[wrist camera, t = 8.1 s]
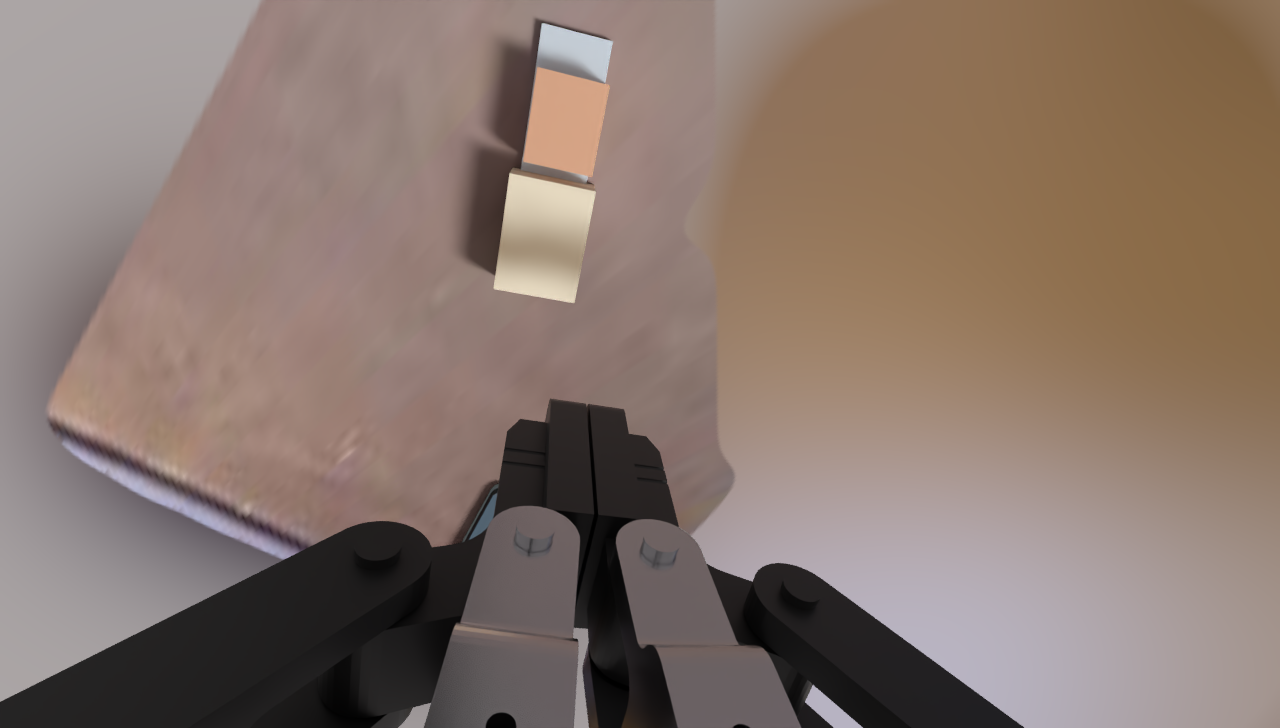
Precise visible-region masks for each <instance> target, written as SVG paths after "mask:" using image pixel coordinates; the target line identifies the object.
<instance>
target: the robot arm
mask: <svg viewBox="0 0 1280 728" xmlns="http://www.w3.org/2000/svg"><path fill="white" fill-rule="evenodd" d="M663 469H664V467H663V463H662V459H661V455H660V452H659V451H658V449H657V448H656V447H655V446H654V445H653V444H652V443H651V441H650V440H649V439H648V438H647V437H646V436H640V435H633V434H629V432H628V427H627V422H626V416H625V411H624V409H619V408H612V407H605V406H598V405H592V404H588V406H587V407H586V404H584V403H577V402H570V401H563V400H557V399H550V400H549V404H548V409H547V414H546V419H545V422H538V421H531V420H524V419H520V420H519V421H518V422H517V423H516V424H515V425H513V426H512V427H511V428H510V429H509V430H508V431H507V436H506V442H505V449H504V455H503V461H502V467H501V473H500V479H499V485H498V492H497V498H496V504H495V510H494V517H493V519H492V521H491V522H490V524H489V526H488V527H487V528H486V529H485V530H484V531H483V532H482V533H481V534H479V535H477V536H476V537H474V538H472V539H470V540H467V541H464V542H461V543H458V544H453V545H447V546H440V547H431V545H430V543H429V541H428V539H427V538H426V537H425V536H424V535H423V534H422V533H421V532H419V531H418V530H416V529H414V528H413V527H410V526H408V525H405V524H401V523H397V522H389V521H376V522H367V523H362V524H358V525H355V526H352V527H350V528H347V529H345V530H343V531H341V532H339V533H337V534H335V535H333V536H331V537H329V538H327V539H325V540H323V541H321V542H319V543H317V544H315V545H313V546H311V547H309V548H307V549H305V550H303V551H301V552H299V553H297V554H295V555H293V556H291V557H289V558H287V559H285V560H283V561H281V562H279V563H277V564H275V565H273V566H271V567H269V568H267V569H265V570H263V571H261V572H259V573H257V574H255V575H253V576H251V577H249V578H247V579H245V580H243V581H241V582H239V583H237V584H235V585H233V586H231V587H229V588H227V589H225V590H223V591H221V592H219V593H217V594H215V595H213V596H211V597H209V598H207V599H205V600H203V601H201V602H199V603H197V604H195V605H193V606H191V607H189V608H187V609H185V610H183V611H181V612H179V613H177V614H175V615H173V616H171V617H169V618H167V619H165V620H163V621H161V622H159V623H157V624H155V625H153V626H151V627H149V628H147V629H145V630H143V631H141V632H139V633H137V634H135V635H133V636H131V637H129V638H127V639H125V640H123V641H121V642H119V643H117V644H115V645H113V646H111V647H109V648H107V649H105V650H103V651H101V652H99V653H97V654H95V655H93V656H91V657H89V658H87V659H86V660H83V661H81V662H79V663H77V664H75V665H74V666H71V667H69V668H67V669H65V670H63V671H61V672H59V673H57V674H55V675H53V676H51V677H49V678H47V679H45V680H43V681H41V682H39V683H37V684H35V685H34V686H31V687H29V688H27V689H26V690H23V691H21V692H19V693H17V694H15V695H13V696H11V697H9V698H7V699H5V700H3V701H1V702H0V728H398V727H399V726H400V725H401V724H402V723H403V722H404V721H405V720H406V718H407V717H408V716H409V714H410V712H411V710H412V708H413V707H416V706H420V705H423V704H428V703H431V705H430V709H429V712H428V716H427V719H426V722H425V726H424V728H574V715H575V699H576V683H577V667H578V639H574V638H573V629H574V628H586V629H588V638H589V643H588V647H587V651H586V655H585V659H584V663H583V681H584V689H585V698H586V706H587V715H588V723H589V728H833V727H832V726H831V725H830V724H829V723H828V722H827V721H825V720H824V719H823V718H822V717H821V716H820V715H819V714H817V713H816V712H815V711H814V710H813V709H812V708H811V707H810V706H808V705H807V704H806V703H805V700H806V698H807V696H808V694H809V692H810V689H811V687H812V685H814V686H815V687H816V688H818V689H819V690H820V691H821V692H822V693H823V694H825V695H826V696H827V697H828V698H829V699H831V700H832V701H833V702H834V703H835V704H836V705H837V706H839V707H840V708H841V709H842V710H843V711H844V712H846V713H847V714H848V715H849V716H850V717H851V718H853V719H854V720H855V721H856V722H857V723H858V724H860V725H861V726H862V727H863V728H1024V727H1023V726H1021V725H1020V724H1018V723H1017V722H1016V721H1014V720H1013V719H1012V718H1010V717H1009V716H1008V715H1006V714H1005V713H1003V712H1002V711H1001V710H999V709H998V708H997V707H995V706H994V705H993V704H991V703H990V702H989V701H987V700H986V699H984V698H983V697H982V696H980V695H979V694H978V693H976V692H975V691H974V690H972V689H971V688H969V687H968V686H967V685H965V684H964V683H963V682H961V681H960V680H959V679H957V678H956V677H955V676H953V675H952V674H950V673H949V672H948V671H946V670H945V669H944V668H942V667H941V666H940V665H938V664H937V663H935V662H934V661H932V660H931V659H930V658H929V657H927V656H926V655H924V654H923V653H922V652H920V651H919V650H918V649H916V648H915V647H914V646H912V645H911V644H910V643H908V642H907V641H905V640H904V639H903V638H901V637H900V636H899V635H897V634H896V633H894V632H893V631H892V630H890V629H889V628H888V627H886V626H885V625H884V624H882V623H881V622H880V621H878V620H877V619H875V618H874V617H873V616H871V615H870V614H869V613H867V612H866V611H865V610H863V609H861V608H860V607H859V606H858V605H856V604H855V603H854V602H852V601H851V600H849V599H848V598H847V597H845V596H844V595H843V594H841V593H840V592H839V591H837V590H836V589H835V588H833V587H832V586H830V585H829V584H828V583H826V582H825V581H824V580H822V579H821V578H819V577H818V576H816V575H815V574H813V573H811V572H809V571H808V570H805V569H802V568H800V567H797V566H794V565H790V564H783V563H775V564H769V565H766V566H764V567H762V568H761V569H760V570H758V572H757V573H756V575H755V578H754V580H753V582H752V581H749V580H746V579H743V578H740V577H737V576H734V575H731V574H728V573H725V572H723V571H720V570H718V569H716V568H714V567H712V566H710V565H708V564H706V561H705V559H704V557H703V554H702V551H701V549H700V547H699V545H698V544H697V542H696V541H695V540H694V539H693V538H692V537H691V536H690V535H689V534H688V533H687V532H685V531H684V530H682V529H681V528H679V525H678V522H677V518H676V514H675V510H674V506H673V502H672V498H671V494H670V490H669V487H668V484H667V479H666V475H665V471H663Z"/></svg>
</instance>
